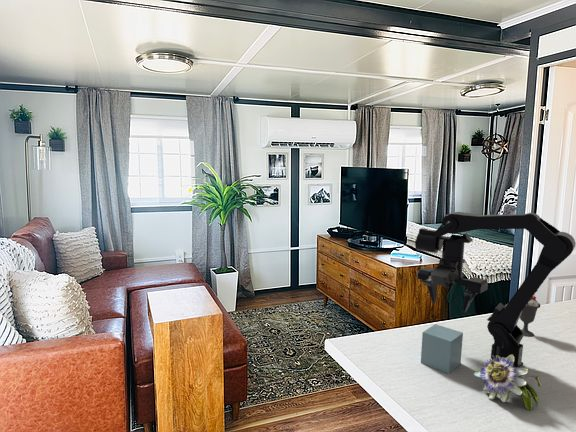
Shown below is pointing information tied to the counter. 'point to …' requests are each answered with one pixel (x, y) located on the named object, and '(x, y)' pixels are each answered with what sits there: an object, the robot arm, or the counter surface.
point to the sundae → (529, 315)
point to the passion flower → (507, 380)
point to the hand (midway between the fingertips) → (448, 307)
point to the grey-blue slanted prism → (441, 348)
